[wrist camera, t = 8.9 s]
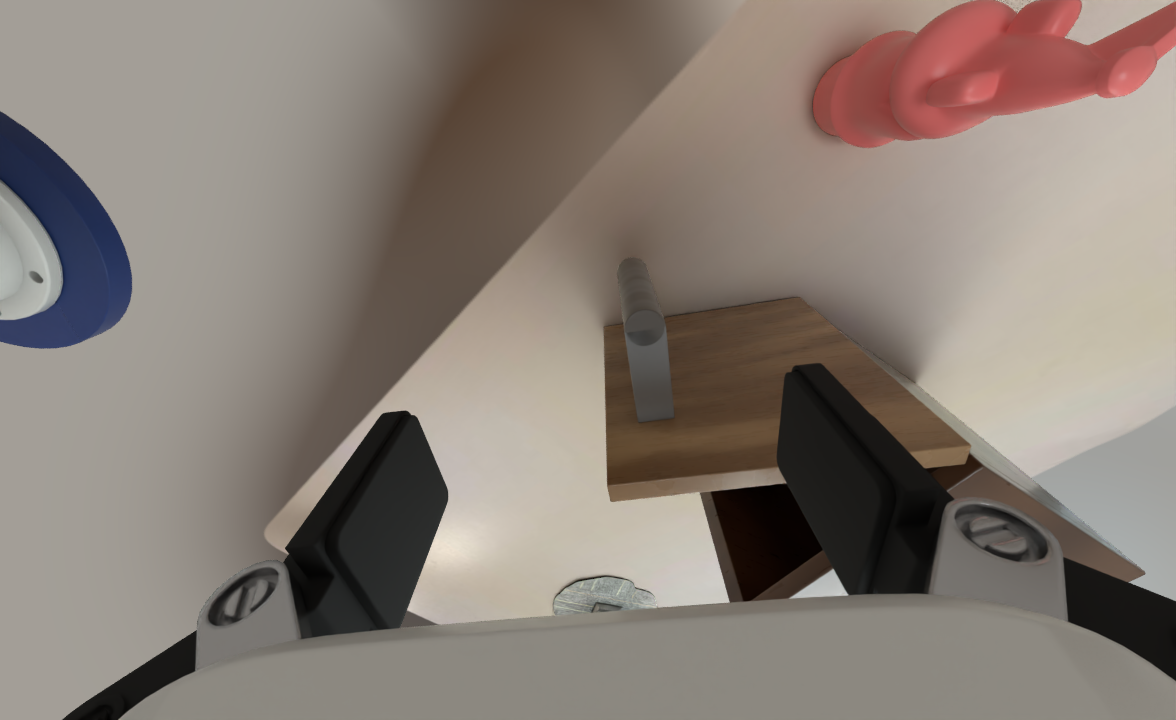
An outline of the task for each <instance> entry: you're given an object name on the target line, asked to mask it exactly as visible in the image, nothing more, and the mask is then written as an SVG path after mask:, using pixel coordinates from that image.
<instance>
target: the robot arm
mask: <svg viewBox="0 0 1176 720" xmlns="http://www.w3.org/2000/svg"><path fill="white" fill-rule="evenodd" d="M62 285H63V273H62V265H61V262H60V258H59V255H58V252H57V250H56V248H55V246H54V244H53V242H52V240H51V238H50V235H49V234H48V232H47V231H46V229H45V228H44V226H43V225H42V224H41V222H40V221H39V219H38V218H37V216H36V215H35V214H34V213H33V212H32V211H31V209H30V208H29V207H28V206H27V205H26V204H25V202H24V201H23V200H22V199H21V198H20V197H19V196H18V195H17V194H16V193H15V192H14V191H13V190H11V189H10V188H9V187H8V186H7V185H6V184H5V183H4V182H3V181H2V180H0V320H16V319H21V318H26V317H29V316H32V315H34V314H37V313H40V312H43V311H45V310H47V309H48V308H49V307H51V306H52V305H53V304H55V302H56V300H57V299H58V297H59V296H60V294H61V290H62ZM776 458H777V464H778V467H779V470H780V472H781V474H782V476H783V477H784V479H785V481H786V483H787V485H788V487H789V488H790V490H791V492H792V494H793V496H794V498H795V499H796V501H797V503H798V505H799V507H800V509H801V510H802V512H803V514H804V516H805V518H806V520H807V521H808V523H809V525H810V527H811V529H812V531H813V532H814V534H815V536H816V538H817V540H818V542H819V543H820V545H821V547H822V549H823V551H824V553H825V554H826V556H827V558H828V560H829V562H830V564H831V565H832V567H833V569H834V571H835V573H836V575H837V576H838V578H839V580H840V582H841V584H842V586H843V587H844V589H845V591H846V592H847V594H848V595H846V596H827V597H809V598H790V599H775V600H761V601H747V602H733V603H718V604H704V605H690V606H676V607H662V608H648V609H635V610H622V611H609V612H595V613H582V614H569V615H556V616H543V617H530V618H517V619H505V620H493V621H481V622H468V623H456V624H444V625H432V626H420V627H407V628H400V626H401V624H402V621H403V619H404V616H405V613H406V611H407V608H408V606H409V603H410V600H411V598H412V595H413V592H414V590H415V587H416V584H417V582H418V579H419V576H420V574H421V571H422V569H423V566H424V563H425V561H426V558H427V555H428V553H429V550H430V547H431V545H432V542H433V539H434V537H435V534H436V531H437V529H438V526H439V524H440V521H441V518H442V516H443V513H444V510H445V508H446V505H447V502H448V490H447V487H446V484H445V482H444V480H443V477H442V475H441V472H440V470H439V468H438V465H437V463H436V461H435V458H434V456H433V454H432V451H431V449H430V446H429V444H428V442H427V439H426V437H425V435H424V432H423V430H422V427H421V425H420V423H419V420H418V418H417V417H416V416H414V415H411V414H410V413H409V412H408V411H397V412H388V413H383V414H382V415H381V416H380V417H379V419H378V420H377V421H376V423H375V424H374V426H373V427H372V428H371V430H370V431H369V432H368V434H367V435H366V437H365V438H364V439H363V441H362V442H361V444H360V445H359V446H358V448H357V449H356V451H355V452H354V453H353V455H352V456H351V457H350V459H349V460H348V462H347V463H346V464H345V466H344V467H343V469H342V470H341V471H340V473H339V474H338V475H337V477H336V478H335V480H334V481H333V482H332V484H331V485H330V487H329V488H328V489H327V491H326V492H325V494H324V495H323V496H322V498H321V499H320V500H319V502H318V503H317V505H316V506H315V507H314V509H313V510H312V512H311V513H310V514H309V516H308V517H307V519H306V520H305V521H304V523H303V524H302V525H301V527H300V528H299V530H298V531H297V532H296V534H295V535H294V537H293V538H292V539H291V541H290V542H289V544H288V545H287V546H286V548H285V549H286V550H287V552H288V553H289V555H288V556H287V558H286V559H285V561H284V562H283V563H282V562H280V561H278V560H267V561H263V562H260V563H256V564H254V565H251V566H250V567H247V568H245V569H243V570H241V571H240V572H238V573H237V574H235V575H234V576H232V577H231V578H229V579H228V580H227V581H226V582H225V583H223V584H222V585H221V586H220V587H219V588H217V590H216V591H215V592H214V593H213V594H212V595H211V596H210V597H209V599H208V600H207V601H206V603H205V605H204V606H203V608H202V609H201V611H200V614H199V617H198V621H197V630H196V631H195V632H193V633H191V634H190V635H188V636H187V637H185V638H184V639H182V640H181V641H179V642H177V643H176V644H174V645H173V646H171V647H170V648H168V649H167V650H165V651H164V652H162V653H160V654H159V655H157V656H156V657H154V658H153V659H151V660H150V661H148V662H146V663H145V664H144V665H142V666H140V667H139V668H137V669H136V670H134V671H133V672H131V673H129V674H128V675H127V676H125V677H123V678H122V679H120V680H119V681H117V682H115V683H114V684H112V685H111V686H109V687H108V688H106V689H105V690H103V691H102V692H100V693H98V694H97V695H95V696H94V697H92V698H91V699H89V700H88V701H86V702H85V703H83V704H82V705H81V706H79V707H78V708H76V709H75V710H74V711H72V712H71V713H70V714H68V715H67V716H66V717H65V718H64V719H63V720H1176V601H1173V600H1171V599H1169V598H1166V597H1164V596H1161V595H1159V594H1156V593H1154V592H1151V591H1149V590H1146V589H1143V588H1141V587H1138V586H1136V585H1133V584H1131V583H1128V582H1126V581H1123V580H1121V579H1118V578H1116V577H1113V576H1111V575H1108V574H1106V573H1103V572H1101V571H1098V570H1095V569H1093V568H1090V567H1088V566H1085V565H1083V564H1080V563H1078V562H1075V561H1073V560H1070V559H1068V558H1065V557H1063V552H1062V549H1061V547H1060V544H1059V541H1058V540H1057V539H1056V538H1055V536H1054V535H1053V534H1052V533H1051V532H1050V530H1049V529H1048V528H1046V527H1045V526H1044V525H1043V524H1041V523H1040V522H1039V521H1038V520H1036V519H1035V518H1033V517H1032V516H1030V515H1028V514H1026V513H1025V512H1023V511H1021V510H1019V509H1017V508H1015V507H1012V506H1010V505H1007V504H1005V503H1002V502H999V501H995V500H990V499H986V498H979V497H964V498H958V499H954V498H953V497H952V496H951V495H950V494H949V493H948V492H947V491H946V490H945V489H944V488H943V487H942V486H941V485H940V484H939V483H938V481H937V480H936V479H935V478H934V477H933V476H932V475H931V474H930V473H929V472H928V471H927V470H926V469H925V468H924V467H923V466H922V465H921V464H920V463H919V462H918V461H917V460H916V459H915V458H914V457H913V456H912V455H911V454H910V453H909V452H908V451H907V450H906V449H905V447H904V446H903V445H902V444H901V443H900V442H899V441H898V440H897V439H896V438H895V437H894V436H893V435H892V434H891V433H890V432H889V431H888V430H887V429H886V428H885V427H884V426H883V425H882V424H881V423H880V422H879V421H878V420H877V419H876V418H875V417H874V416H873V415H871V414H870V413H869V412H868V411H867V410H866V409H865V408H864V407H863V406H862V405H861V404H860V403H859V402H858V401H857V400H856V399H855V398H854V397H853V396H852V394H851V393H850V392H849V391H848V390H847V389H846V388H845V387H844V386H843V385H842V384H841V383H840V382H839V381H838V380H837V379H836V378H835V377H834V376H833V375H832V374H831V373H830V372H829V371H828V370H827V369H826V368H825V366H824V365H822V364H821V363H812V364H804V365H795V366H794V367H793V368H792V371H791V372H787V373H786V374H785V377H784V386H783V396H782V405H781V415H780V425H779V435H778V445H777V456H776Z"/></svg>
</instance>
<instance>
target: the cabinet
mask: <svg viewBox="0 0 1176 720" xmlns="http://www.w3.org/2000/svg"><path fill="white" fill-rule="evenodd" d="M837 330H838V329H837ZM841 333H842V332H841ZM842 334H843V333H842ZM843 335H844V336H846V335H845V334H843ZM846 337H847V338H848V339H849V340H850V341H851V342H853V343H854V344H855V345H856V346H857V347H858V348H860V349H861V350H862V351H863V352H864V353H865V354H867V355H868V356H869V357H870V358H871V359H872V360H873V361H875V362H876V363H877V364H878V365H879V366H880V367H882V368H883V369H884V370H885V371H886V372H887V373H889V374H890V375H891V376H892V377H893V378H894V379H896V380H897V381H898V382H899V383H900V384H901V385H902V386H904V387H905V388H906V389H907V390H908V391H909V392H911V393H912V394H913V395H914V396H915V397H916V398H918V399H919V400H920V401H921V402H922V403H923V404H925V405H926V406H927V407H928V408H929V409H930V410H931V411H933V412H934V413H935V414H936V415H937V416H938V417H940V418H941V419H942V420H943V421H944V422H945V423H947V424H948V425H949V426H950V427H951V428H952V429H954V430H955V431H956V432H957V433H958V434H959V435H960V436H962V437H963V438H964V439H965V440H966V441H967V442H969V443H970V444H971V449H970V452H969V454H968V457H967V460H966V463H965V464H961V465H951V466H942V467H933V468H925V469H926V470H927V471H928V472H929V473H930V474H931V475H932V476H933V477H934V478H935V479H936V480H937V481H938V483H939V484H940V485H941V486H942V487H943V488H944V489H945V490H946V491H947V492H948V493H949V494H950V495H951V496H952V497H953V498H954V499H958V498H964V497H979V498H986V499H990V500H995V501H999V502H1002V503H1005V504H1007V505H1010V506H1012V507H1015V508H1017V509H1019V510H1021V511H1023V512H1025V513H1026V514H1028V515H1030V516H1032V517H1033V518H1035V519H1036V520H1038V521H1039V522H1040V523H1041V524H1043V525H1044V526H1045V527H1046V528H1048V529H1049V530H1050V532H1051V533H1052V534H1053V535H1054V536H1055V538H1056V539H1057V540H1058V541H1059V544H1060V547H1061V549H1062V552H1063V557H1065V558H1068V559H1070V560H1073V561H1075V562H1078V563H1080V564H1083V565H1085V566H1088V567H1090V568H1093V569H1095V570H1098V571H1101V572H1103V573H1106V574H1108V575H1111V576H1113V577H1116V578H1118V579H1121V580H1123V581H1126V582H1130V581H1132V580H1134V579H1136V578H1138V577H1141V576H1143V575H1145V572H1144V571H1143V570H1142V569H1141V568H1140V567H1138V566H1137V565H1136V564H1135V563H1133V562H1132V561H1131V560H1130V559H1129V558H1127V557H1126V556H1125V555H1123V554H1122V553H1121V552H1120V551H1119V550H1118V549H1117V548H1115V547H1114V546H1113V545H1112V544H1110V543H1109V542H1108V541H1107V540H1106V539H1104V538H1103V537H1102V536H1101V535H1099V534H1098V533H1097V532H1096V531H1095V530H1093V529H1092V528H1091V527H1090V526H1089V525H1087V524H1086V523H1085V522H1084V521H1082V520H1081V519H1080V518H1079V517H1077V516H1076V515H1075V514H1074V513H1073V512H1072V511H1070V510H1069V509H1068V508H1067V507H1065V506H1064V505H1063V504H1062V503H1061V502H1059V501H1058V500H1057V499H1056V498H1054V497H1053V496H1052V495H1051V494H1049V493H1048V492H1047V491H1046V490H1044V489H1043V488H1042V487H1041V486H1040V485H1039V484H1037V483H1036V482H1035V481H1034V480H1032V479H1031V478H1030V477H1029V476H1028V475H1026V474H1025V473H1024V472H1023V471H1022V470H1020V469H1019V468H1018V467H1017V466H1015V465H1014V464H1013V463H1012V462H1011V461H1009V460H1008V459H1007V458H1006V457H1004V456H1003V455H1002V454H1001V453H1000V452H998V451H997V450H996V449H995V448H993V447H992V446H991V445H990V444H989V443H987V442H986V441H985V440H984V439H983V438H981V437H980V436H979V435H978V434H976V433H975V432H974V431H973V430H972V429H970V428H969V427H968V426H967V425H965V424H964V423H963V422H962V421H961V420H959V419H958V418H957V417H956V416H954V415H953V414H952V413H951V412H950V411H948V410H947V409H946V408H945V407H943V406H942V405H941V404H940V403H939V402H937V401H936V400H935V399H934V398H933V397H931V396H930V395H929V394H928V393H926V392H925V391H924V390H923V389H922V388H920V387H919V386H918V385H917V384H915V383H914V382H912V381H911V380H909V379H908V378H907V377H905V376H904V375H902V374H901V373H899V372H898V371H897V370H895V369H894V368H892V367H891V366H889V365H888V364H886V363H885V362H884V361H882V360H881V359H879V358H878V357H876V356H875V355H873V354H872V353H871V352H869V351H868V350H866V349H865V348H863V347H862V346H861V345H859V344H858V343H856V342H855V341H853V340H852V339H850V338H849V337H848V336H846ZM700 495H701V499H702V502H703V506H704V510H705V513H706V517H707V521H708V524H709V528H710V532H711V535H712V539H713V543H714V546H715V550H716V554H717V557H718V561H719V565H720V568H721V572H722V576H723V579H724V583H725V587H726V590H727V594H728V598H729V601H730V603H733V602H747V601H761V600H775V599H790V598H809V597H827V596H846V595H848V594H847V592H846V591H845V589H844V587H843V586H842V584H841V582H840V580H839V578H838V576H837V575H836V573H835V571H834V569H833V567H832V565H831V564H830V562H829V560H828V558H827V556H826V554H825V553H824V551H823V549H822V547H821V545H820V543H819V542H818V540H817V538H816V536H815V534H814V532H813V531H812V529H811V527H810V525H809V523H808V521H807V520H806V518H805V516H804V514H803V512H802V510H801V509H800V507H799V505H798V503H797V501H796V499H795V498H794V496H793V494H792V492H791V490H790V488H789V487H788V485H787V483H784V484H774V485H765V486H756V487H746V488H737V489H728V490H719V491H709V492H700Z"/></svg>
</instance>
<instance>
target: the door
mask: <svg viewBox="0 0 1176 720" xmlns="http://www.w3.org/2000/svg"><path fill="white" fill-rule="evenodd" d="M617 276H618V284H619V292H620V301H621V309H622V317H623V324H620V325H613V326H606V327H604V365H605V410H606V455H607V487H608V492H609V497H610V501H611V502H616V501H625V500H635V499H644V498H653V497H663V496H672V495H681V494H691V493H700V492H709V491H719V490H728V489H737V488H746V487H756V486H765V485H774V484H784V483H786V481H785V479H784V477H783V476H782V474H781V472H780V470H779V467H778V464H777V458H776V456H777V445H778V435H779V425H780V415H781V405H782V396H783V386H784V377H785V374H786V373H787V372H791V371H792V368H793V367H794V366H795V365H804V364H812V363H821V364H822V365H824V366H825V368H826V369H827V370H828V371H829V372H830V373H831V374H832V375H833V376H834V377H835V378H836V379H837V380H838V381H839V382H840V383H841V384H842V385H843V386H844V387H845V388H846V389H847V390H848V391H849V392H850V393H851V394H852V396H853V397H854V398H855V399H856V400H857V401H858V402H859V403H860V404H861V405H862V406H863V407H864V408H865V409H866V410H867V411H868V412H869V413H870V414H871V415H873V416H874V417H875V418H876V419H877V420H878V421H879V422H880V423H881V424H882V425H883V426H884V427H885V428H886V429H887V430H888V431H889V432H890V433H891V434H892V435H893V436H894V437H895V438H896V439H897V440H898V441H899V442H900V443H901V444H902V445H903V446H904V447H905V449H906V450H907V451H908V452H909V453H910V454H911V455H912V456H913V457H914V458H915V459H916V460H917V461H918V462H919V463H920V464H921V465H922V466H923V467H924V468H933V467H942V466H951V465H961V464H965V463H966V460H967V457H968V454H969V452H970V449H971V444H970V443H969V442H967V441H966V440H965V439H964V438H963V437H962V436H960V435H959V434H958V433H957V432H956V431H955V430H954V429H952V428H951V427H950V426H949V425H948V424H947V423H945V422H944V421H943V420H942V419H941V418H940V417H938V416H937V415H936V414H935V413H934V412H933V411H931V410H930V409H929V408H928V407H927V406H926V405H925V404H923V403H922V402H921V401H920V400H919V399H918V398H916V397H915V396H914V395H913V394H912V393H911V392H909V391H908V390H907V389H906V388H905V387H904V386H902V385H901V384H900V383H899V382H898V381H897V380H896V379H894V378H893V377H892V376H891V375H890V374H889V373H887V372H886V371H885V370H884V369H883V368H882V367H880V366H879V365H878V364H877V363H876V362H875V361H873V360H872V359H871V358H870V357H869V356H868V355H867V354H865V353H864V352H863V351H862V350H861V349H860V348H858V347H857V346H856V345H855V344H854V343H853V342H851V341H850V340H849V339H848V338H847V337H846V336H844V335H843V334H842V333H841V332H840V331H839V330H837V329H836V328H835V327H834V326H833V325H832V324H831V323H829V322H828V321H827V320H826V319H825V318H824V317H822V316H821V315H820V314H819V313H818V312H817V311H815V310H814V309H813V308H812V307H811V306H810V305H808V304H807V303H806V302H805V301H804V300H803V299H802V298H800V297H797V298H790V299H784V300H777V301H771V302H764V303H757V304H751V305H744V306H738V307H731V308H725V309H718V310H711V311H705V312H698V313H692V314H685V315H679V316H672V317H665V318H664V317H663V314H662V311H661V308H660V305H659V302H658V299H657V296H656V293H655V290H654V287H653V284H652V281H651V278H650V275H649V272H648V269H647V266H646V264H645V263H644V262H643V261H642V260H641V259H639V258H634V257H632V258H627V259H625V260H624V261H622V262H621V264H620V265H619V267H618V270H617Z"/></svg>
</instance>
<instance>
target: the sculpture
mask: <svg viewBox="0 0 1176 720" xmlns="http://www.w3.org/2000/svg"><path fill="white" fill-rule="evenodd" d="M656 604H657V603H656V599H655V597H654V596H653V595H652V594H651V593H649V592H646V591H642V590H638V589H635V587H634V584H633V583H632V582H630V581H627V580H624V579H617V578H609V577H603V578H597V579H590V580H585V581H579V582H576V583H574V584H573V585H571V586H569V587H566V588H565V589H564V590H563V592H561V594H559V595H558V596H557V597H556V598H555V600H554V603H553V609H554V611H555V612H554V613H555V615H569V614H582V613H595V612H609V611H622V610H635V609H648V608H658V607H657V605H656Z"/></svg>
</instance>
